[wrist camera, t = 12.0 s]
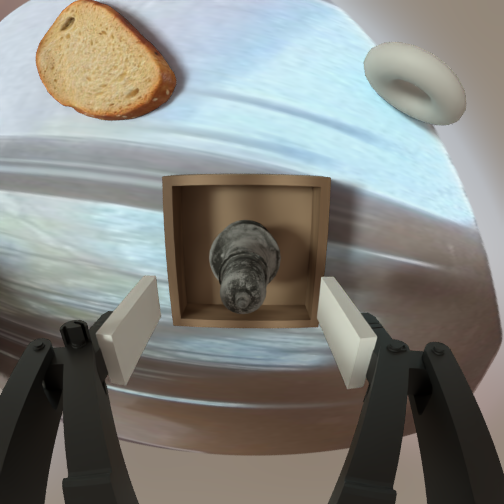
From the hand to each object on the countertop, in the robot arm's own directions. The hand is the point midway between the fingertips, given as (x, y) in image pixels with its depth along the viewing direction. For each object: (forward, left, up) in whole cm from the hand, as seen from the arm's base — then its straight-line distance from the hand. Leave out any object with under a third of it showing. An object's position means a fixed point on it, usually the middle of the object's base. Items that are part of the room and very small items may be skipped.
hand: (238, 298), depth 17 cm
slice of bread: (-16, +22, -12) cm, 29 cm away
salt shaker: (0, 0, -11) cm, 11 cm away
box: (0, 0, -12) cm, 12 cm away
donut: (+15, +16, -12) cm, 25 cm away
